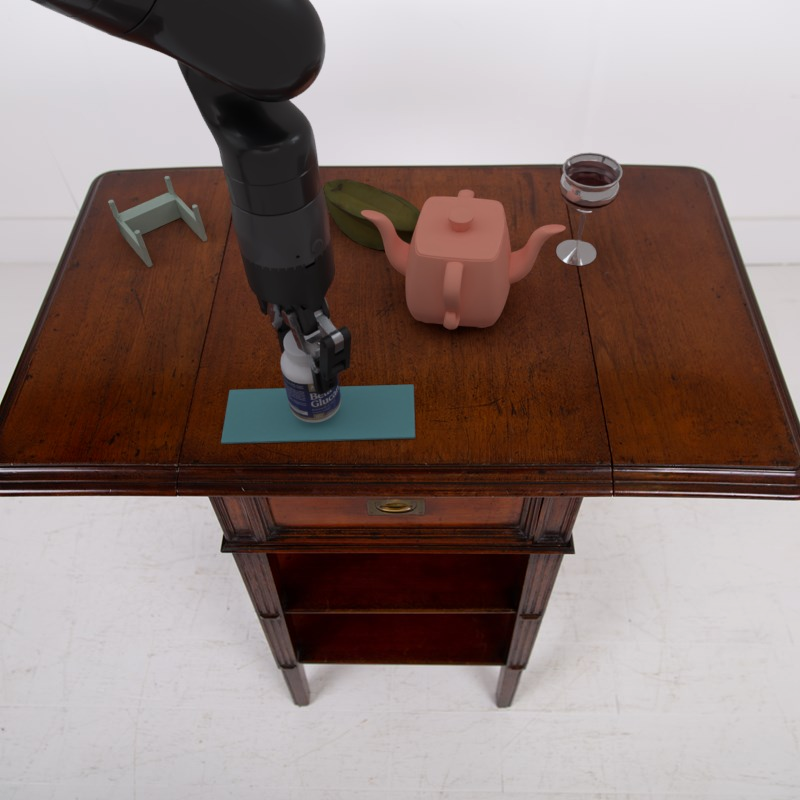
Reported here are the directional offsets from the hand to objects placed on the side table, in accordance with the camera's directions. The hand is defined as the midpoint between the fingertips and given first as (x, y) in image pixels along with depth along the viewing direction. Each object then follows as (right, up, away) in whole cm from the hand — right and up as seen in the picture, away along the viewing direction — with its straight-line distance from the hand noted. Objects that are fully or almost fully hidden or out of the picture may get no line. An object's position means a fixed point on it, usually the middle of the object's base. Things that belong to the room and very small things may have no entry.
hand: (309, 369), depth 75 cm
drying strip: (0, -5, +5) cm, 7 cm away
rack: (-22, +18, +24) cm, 38 cm away
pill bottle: (0, -4, +4) cm, 6 cm away
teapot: (+16, +9, +16) cm, 24 cm away
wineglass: (+31, +15, +20) cm, 40 cm away
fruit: (+6, +19, +24) cm, 31 cm away
